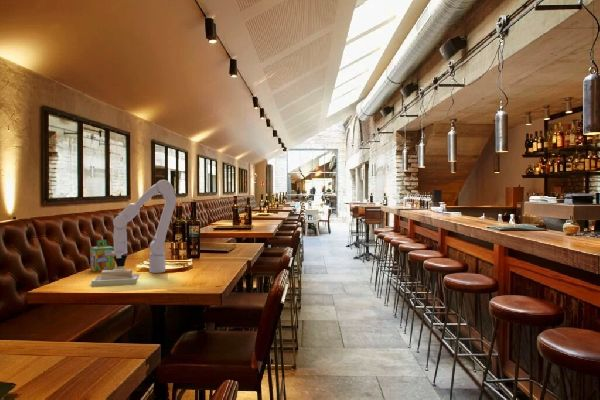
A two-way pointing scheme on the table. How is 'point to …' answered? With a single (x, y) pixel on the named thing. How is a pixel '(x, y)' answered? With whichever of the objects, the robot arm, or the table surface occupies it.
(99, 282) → the off-white long channel
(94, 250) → the chalk box
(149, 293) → the table surface
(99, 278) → the board
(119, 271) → the t block
